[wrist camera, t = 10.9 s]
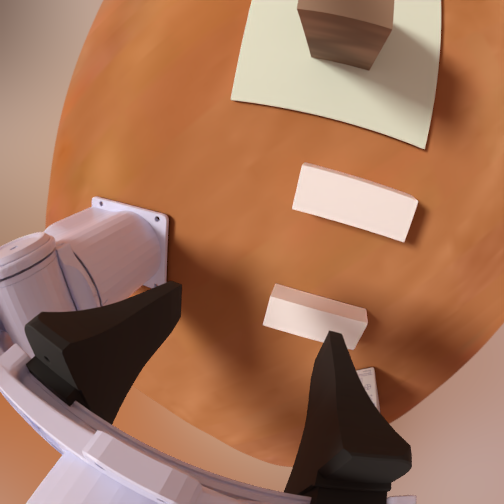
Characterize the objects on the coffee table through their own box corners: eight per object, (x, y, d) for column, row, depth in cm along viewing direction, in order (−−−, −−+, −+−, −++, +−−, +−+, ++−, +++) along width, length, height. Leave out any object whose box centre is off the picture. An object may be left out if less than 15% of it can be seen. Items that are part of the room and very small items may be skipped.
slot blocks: (268, 311, 24) (262, 325, 22) (304, 162, 18) (302, 164, 17) (353, 335, 23) (353, 350, 21) (410, 194, 17) (418, 201, 15)
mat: (232, 100, 18) (230, 99, 18) (264, -42, 12) (263, -44, 11) (422, 149, 16) (424, 149, 15) (439, -4, 9) (440, -6, 9)
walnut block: (311, 57, 15) (296, 8, 8) (320, 2, 13) (309, -61, 6) (369, 70, 14) (392, 29, 7) (376, 14, 12) (394, -44, 5)
